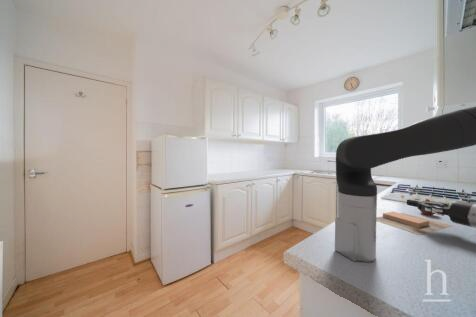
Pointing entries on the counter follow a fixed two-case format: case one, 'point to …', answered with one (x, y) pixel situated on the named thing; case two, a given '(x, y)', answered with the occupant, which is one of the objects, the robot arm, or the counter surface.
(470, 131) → the robot arm
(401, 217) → the tile
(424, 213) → the onion
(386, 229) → the counter surface
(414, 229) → the board
